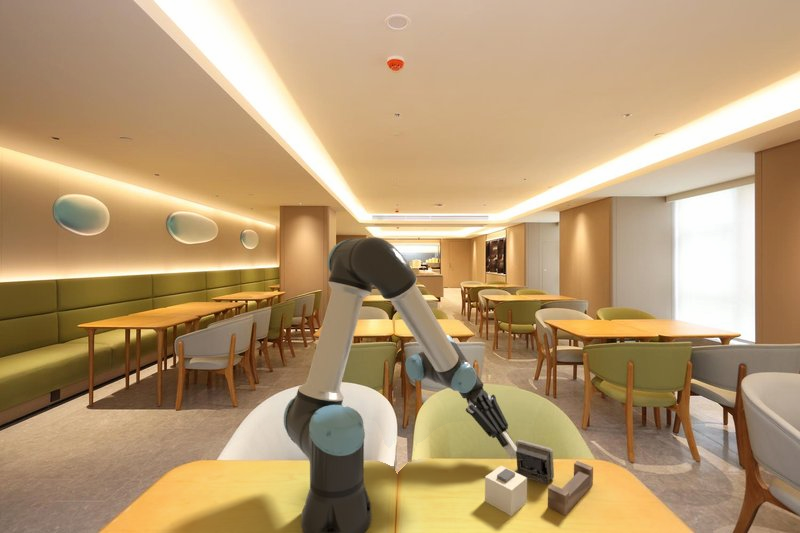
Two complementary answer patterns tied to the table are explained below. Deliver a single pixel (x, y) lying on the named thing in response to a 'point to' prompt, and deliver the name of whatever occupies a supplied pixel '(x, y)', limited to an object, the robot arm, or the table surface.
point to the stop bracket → (571, 489)
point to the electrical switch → (534, 461)
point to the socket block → (506, 490)
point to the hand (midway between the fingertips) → (515, 455)
